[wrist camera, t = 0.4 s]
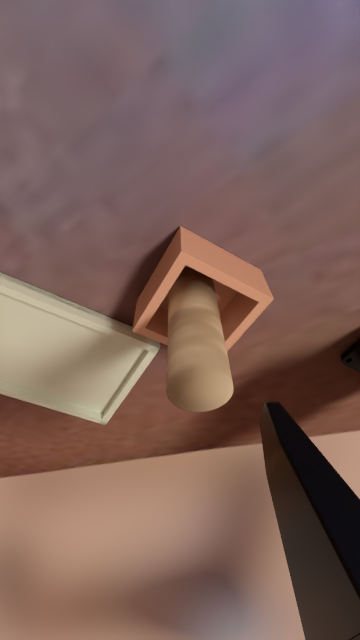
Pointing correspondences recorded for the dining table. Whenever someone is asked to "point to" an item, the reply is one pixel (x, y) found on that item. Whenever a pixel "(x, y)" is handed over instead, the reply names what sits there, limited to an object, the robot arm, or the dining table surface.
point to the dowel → (196, 345)
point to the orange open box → (229, 282)
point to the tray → (66, 353)
